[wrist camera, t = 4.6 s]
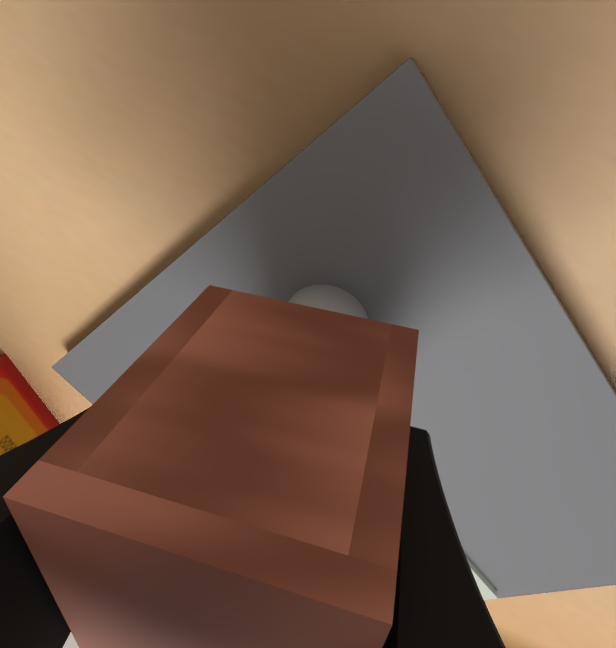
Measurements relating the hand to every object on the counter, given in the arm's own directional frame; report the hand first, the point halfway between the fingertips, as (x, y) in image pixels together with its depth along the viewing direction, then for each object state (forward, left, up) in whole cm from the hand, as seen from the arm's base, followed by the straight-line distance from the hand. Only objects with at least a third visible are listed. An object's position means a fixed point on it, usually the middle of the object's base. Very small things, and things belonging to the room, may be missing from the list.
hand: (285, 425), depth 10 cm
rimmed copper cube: (0, 0, -1) cm, 1 cm away
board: (+3, +5, -6) cm, 8 cm away
